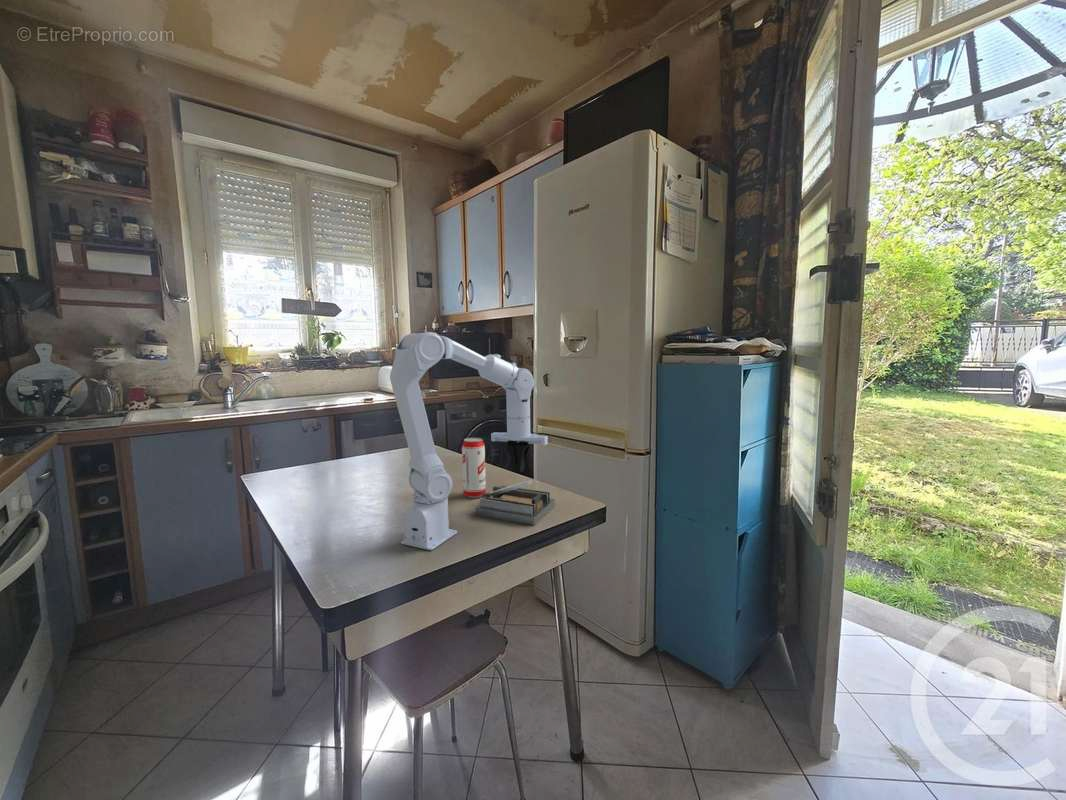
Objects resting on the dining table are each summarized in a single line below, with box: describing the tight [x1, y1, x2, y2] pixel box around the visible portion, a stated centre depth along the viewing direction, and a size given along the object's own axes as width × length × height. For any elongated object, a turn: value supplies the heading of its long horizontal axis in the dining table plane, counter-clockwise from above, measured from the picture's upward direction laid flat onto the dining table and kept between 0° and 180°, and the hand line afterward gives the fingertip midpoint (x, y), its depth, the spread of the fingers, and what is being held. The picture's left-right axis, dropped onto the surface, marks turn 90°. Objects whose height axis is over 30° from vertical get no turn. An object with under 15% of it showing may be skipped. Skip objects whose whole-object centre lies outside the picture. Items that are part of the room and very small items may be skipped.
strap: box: [489, 479, 534, 497], centre depth 108 cm, size 4×12×1 cm, turn 66°
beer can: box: [461, 437, 487, 499], centre depth 119 cm, size 6×6×16 cm
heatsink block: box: [474, 485, 556, 526], centre depth 108 cm, size 13×16×4 cm
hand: (519, 471), depth 106 cm, fingers closed
